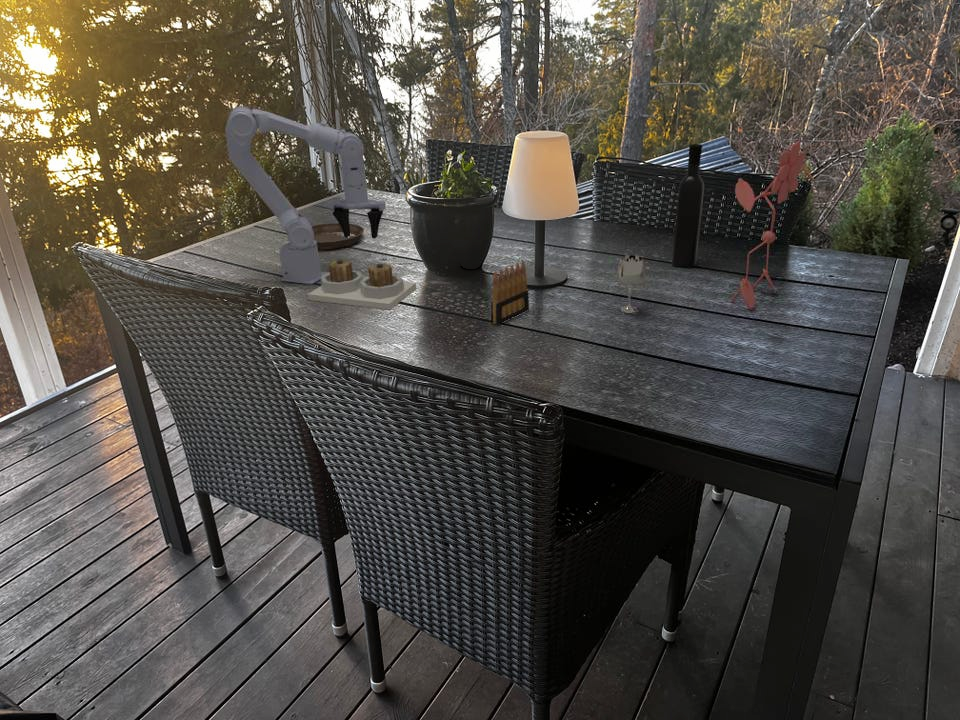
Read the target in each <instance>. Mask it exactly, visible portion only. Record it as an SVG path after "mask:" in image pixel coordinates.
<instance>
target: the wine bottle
mask: <svg viewBox="0 0 960 720" xmlns="http://www.w3.org/2000/svg"><path fill="white" fill-rule="evenodd" d="M688 147H689V148H688V162H687V163H688V164H687V171H686V175H685V176H684V177H683V178H682V179H681V182H680V183H679V188H678V194H677V205H676V216H675V225H674V227H675V229H674V236H673V237H674V238H673V249H672V259H671V265H672V266H673V267H675V266H682V267H681V268H686V267H693V268H694V267H695V266H696V264H697V259H698V258H697V257H698V249H699V248H698V247H699V242H700V241H699V239H700V230H701V220H702V213H703V212H702V211H703V205H704V203H703V202H704V196H705V195H704V194H705V183H704V180H703V178H702V176H700V169H701V168H700V167H701V156H702V154H703V153H702V151H703V150H702V149H703V144H698V143H692V144H689V145H688Z"/></svg>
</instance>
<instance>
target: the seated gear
mask: <svg viewBox="0 0 960 720" xmlns="http://www.w3.org/2000/svg"><path fill="white" fill-rule="evenodd" d="M392 274H393V266H391V265H390V264H386V263H377V264H373V265H371V266H370V267H368V276H369V278H370V286H374V287H383V286H388V285H393V276H392Z"/></svg>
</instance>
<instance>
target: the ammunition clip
mask: <svg viewBox="0 0 960 720" xmlns="http://www.w3.org/2000/svg"><path fill="white" fill-rule="evenodd" d="M526 271H527V268H526V263H525V261H524V260H522V261H521V263H520V264H519V262H517V263H516V265H515V268H514V265H513V264H511V265H510V267H509V268H508V266H506V267H505V268H504V271H503V269H502V268H500V270H499V273H497V271H494V272H493V277H492V291H491V295H492V298H491V299H492V301H490V323H493V324H492V325H494V324H495V326H497V325H498V326H500V325H501V324H500V323H502V322H504V321H506V320H508V319H511V318H512V317H515V316H517V315H519V314H521V313H523V312H525V311H527V310H529V311H530V305H529V304H530V301H529V300H530V299H529V290H528V285H527V284H528V281H527V280H528V279H527V273H526ZM523 314H524V313H523ZM521 315H522V314H521ZM519 316H520V315H519ZM517 317H518V316H517ZM515 318H516V317H515ZM511 320H512V319H511ZM506 322H507V321H506ZM504 323H505V322H504ZM499 324H500V325H499ZM502 324H503V323H502Z"/></svg>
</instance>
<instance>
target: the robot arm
mask: <svg viewBox="0 0 960 720" xmlns="http://www.w3.org/2000/svg"><path fill="white" fill-rule="evenodd" d="M257 130H258V131H259V134H265V133H267V132H270V131H271V132H272V131H273V132H276V133H281V134H285V135H287V136H290V137H291V136H292V137H295V138H298V139H302V140H305V141H306V142H307V144H308V146H309V147H310V148H313V149H316V150H320V151H323V152H326V153H330V154H332V155H338V154H339V155H340V160H341V166H340V167H341V168H340V169H341V176H342V183H343V184H342V185H343V191H344V199H332V200H330V201H329V209H330V210H333V211H332V215H333V217H334V218H335V219H336V221H337V223H339V224H340V226H341V228H342V231H343V233H344V236H345V237H348V236H350V225H349V224H350V210H366V211H367V210H370V211H367V212H366V214H367V217H368V221H369V225H370V233H371V234H370V235H371V238H372V239H376V238H377V237H378V234H379V226H380V223H381V220H382V219H381V218H382V216H383V213H384V211H385V210H386V209H387V208H386V201H385V200H384V201H383V200H374V199H369V195H368V184H367V176H366V169H365V164H364V153H365V147H364V144H363V142H362V141H361V139H360V138H359V137H358V135H356V134H354V133H352V132H351V131H347V132H346V130H345V129H340V130H339V129H336V128H333V127H330V126H327V123H326V122H323V121H320V123H317V122H313V123H312V124H311V125H306V124H303V123H300V122H297V121H294V120H293V119H289V118H286V117H284V116H281V115H278V114H275V113H272V112H270V111H266V110H262V109H259V108H258V109H257V108H252V109H251V108H249V106H244V105H240V106H237V107H236V106H235V107H234V108H233V109H232V110H231V111H230V113H229V115H228V118H227V123H226V126H225V129H224V131H225V137H226V145H227V146H226V147H227V154H228V156H227V157H228V158H229V160H230V161H231V162H232V164H233V165H234V166H235V167H236V169H237V170H238V171H239V172H240V173H241V175H242V176H243V177H244V178H245V180H246V181H247V182H248V184H249V185H250V186H251V187H252V188H253V190H254V191H255V192H256V193H257V194H258V196H259V198H261V200H262V201H263V202H264V204H265V205H266V206H267V207H268V209H270V211H271V212H272V213H273V214H274V216H275V217H276V218H277V220H278V221H279V223H280V226H281V227H282V228H283V229H284V232H286V234H287V238H288V243H286V244H283V245H282V246H281V247H280V251H279V261H280V262H279V263H280V267H281V268H280V269H281V274H282V278H281V281H282V282H289V283H297V284H298V283H299V284H304V285H305V284H306V285H314V284H315V283H316V282H318V281H321V277H322V276H324V275H326V274H327V273H329V272H327V271H322V269H321V261H320V254H319V249H318V248H317V242H316V241H315V240H314V232H313V230H312V226H313V225H312V224H313V223H312V222H311V220H310V219H309V218H308V217H307V216H305V215H303V214H301V213H300V212H299V210H298V209H297V208H296V207H294V205H292V204H291V202H290V201H289V200H288V198H287V197H286V196H285V195H284V194H283V191H281V190H280V189H279V187H278V186H277V184H276V183H275V182H274V181H273V179H272V178H271V177H270V176H269V174H268V173H267V172H266V170H265V169H264V168H263V166H262V165H261V164H260V163H259V161H257V159H256V158H255V156H253V155H252V153H251V147H252V140H253V138H254V136H255V134H256V132H257Z"/></svg>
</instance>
